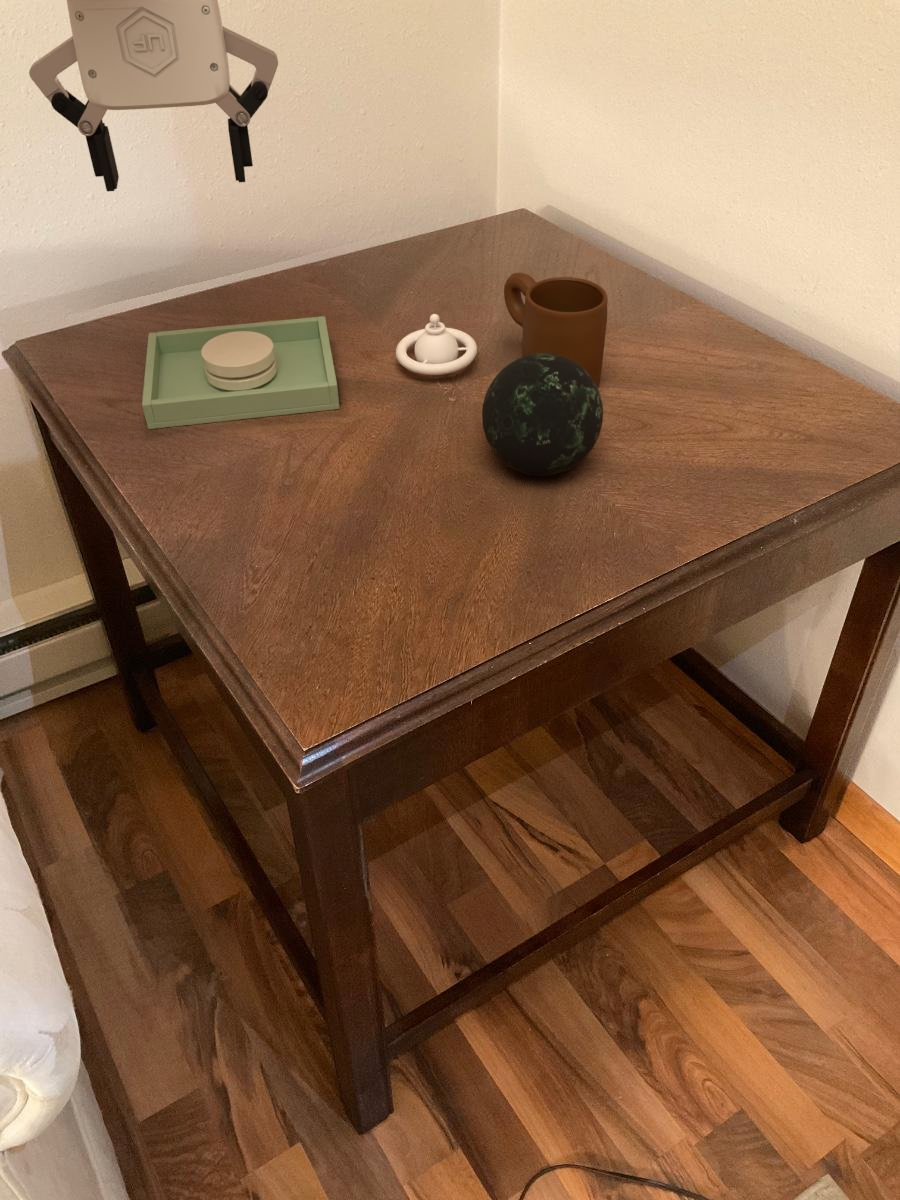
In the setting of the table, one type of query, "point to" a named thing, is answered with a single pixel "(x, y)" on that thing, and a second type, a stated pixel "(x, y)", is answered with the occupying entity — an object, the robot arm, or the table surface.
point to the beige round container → (239, 360)
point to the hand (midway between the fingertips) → (177, 180)
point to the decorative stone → (542, 414)
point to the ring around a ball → (436, 349)
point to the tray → (190, 399)
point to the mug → (560, 318)
